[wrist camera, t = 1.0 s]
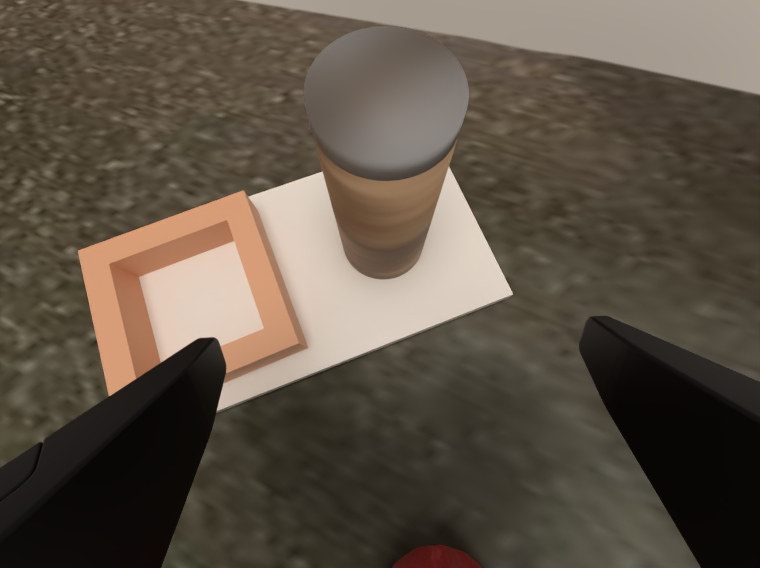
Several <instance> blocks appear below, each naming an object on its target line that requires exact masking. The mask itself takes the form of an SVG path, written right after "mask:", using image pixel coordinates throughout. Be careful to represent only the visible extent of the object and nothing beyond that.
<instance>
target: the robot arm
mask: <svg viewBox="0 0 760 568" xmlns="http://www.w3.org/2000/svg"><path fill="white" fill-rule="evenodd" d="M579 350H580V353H581V355H582V358H583V360H584V362H585V364H586V366H587V368H588V371H589V373H590V375H591V377H592V379H593V381H594V384H595V386H596V388H597V390H598V392H599V394H600V397H601V399H602V401H603V403H604V405H605V407H606V409H607V410H608V412H609V414H610V416H611V417H612V419H613V421H614V422H615V424H616V426H617V427H618V429H619V431H620V433H621V434H622V436H623V438H624V439H625V441H626V443H627V444H628V446H629V448H630V449H631V451H632V453H633V454H634V456H635V458H636V459H637V461H638V463H639V464H640V466H641V468H642V469H643V471H644V473H645V474H646V476H647V478H648V480H649V481H650V483H651V485H652V486H653V488H654V490H655V491H656V493H657V495H658V496H659V498H660V500H661V501H662V503H663V505H664V506H665V508H666V510H667V511H668V513H669V515H670V516H671V518H672V520H673V521H674V523H675V525H676V526H677V528H678V530H679V532H680V533H681V535H682V537H683V538H684V540H685V542H686V543H687V545H688V547H689V548H690V550H691V552H692V553H693V555H694V557H695V558H696V560H697V562H698V563H699V565H700V567H701V568H760V382H759V381H756V380H754V379H752V378H749V377H747V376H745V375H743V374H740V373H738V372H736V371H733V370H731V369H729V368H726V367H724V366H722V365H719V364H717V363H715V362H712V361H710V360H708V359H706V358H703V357H701V356H699V355H696V354H694V353H692V352H689V351H687V350H685V349H682V348H680V347H678V346H675V345H673V344H671V343H669V342H666V341H664V340H662V339H659V338H657V337H655V336H652V335H650V334H648V333H645V332H643V331H641V330H638V329H636V328H634V327H632V326H629V325H627V324H625V323H622V322H620V321H618V320H615V319H613V318H611V317H608V316H593V317H589V318H588V319H587V320H586V322H585V326H584V329H583V332H582V336H581V339H580V343H579ZM225 375H226V361H225V358H224V355H223V352H222V349H221V346H220V343H219V341H218V339H217V338H215V337H207V338H198V339H196V340H195V341H193V342H191V343H190V344H188V345H187V346H185V347H184V348H182V349H181V350H179V351H178V352H176V353H175V354H173V355H172V356H170V357H169V358H167V359H166V360H164V361H163V362H161V363H159V364H158V365H156V366H155V367H153V368H152V369H150V370H149V371H147V372H146V373H144V374H143V375H141V376H140V377H138V378H137V379H135V380H134V381H132V382H131V383H129V384H127V385H126V386H124V387H123V388H121V389H120V390H118V391H117V392H115V393H114V394H112V395H111V396H109V397H108V398H106V399H105V400H103V401H102V402H100V403H98V404H97V405H95V406H94V407H92V408H91V409H89V410H88V411H86V412H85V413H83V414H82V415H80V416H79V417H77V418H76V419H74V420H73V421H71V422H70V423H68V424H66V425H65V426H63V427H62V428H60V429H59V430H57V431H56V432H54V433H53V434H51V435H50V436H48V437H47V438H45V439H44V441H43V442H39V443H37V444H36V445H34V446H33V447H31V448H30V449H28V450H27V451H25V452H24V453H22V454H21V455H19V456H18V457H16V458H15V459H13V460H11V461H10V462H8V463H7V464H5V465H4V466H2V467H0V568H161V566H162V564H163V561H164V558H165V556H166V553H167V550H168V547H169V545H170V542H171V539H172V537H173V534H174V531H175V529H176V526H177V523H178V520H179V518H180V515H181V512H182V510H183V507H184V504H185V502H186V499H187V496H188V493H189V491H190V488H191V485H192V483H193V480H194V477H195V475H196V472H197V469H198V466H199V464H200V461H201V458H202V456H203V453H204V450H205V448H206V445H207V442H208V439H209V436H210V434H211V431H212V427H213V423H214V420H215V416H216V412H217V408H218V404H219V400H220V395H221V391H222V387H223V383H224V379H225Z"/></svg>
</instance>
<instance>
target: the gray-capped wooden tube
mask: <svg viewBox="0 0 760 568" xmlns="http://www.w3.org/2000/svg"><path fill="white" fill-rule="evenodd" d="M468 100H469V88H468V83H467V79H466V76H465V73H464V70H463V69H462V67H461V65H460V63H459V62H458V60H457V59H456V57H455V56H454V55H453V54H452V53H451V52H450V51H449V50H448V49H447V48H446V47H445V46H444V45H442V44H441V43H440V42H438V41H437V40H435V39H433V38H432V37H430V36H428V35H425V34H423V33H421V32H418V31H415V30H411V29H407V28H402V27H395V26H379V27H370V28H364V29H361V30H357V31H354V32H351V33H349V34H346V35H344V36H342V37H340V38H339V39H337V40H335V41H334V42H332V43H331V44H329V45H328V46H327V47H326V48H325V49H324V50H323V51H322V52H321V53H320V54H319V55H318V56H317V57H316V59H315V60H314V62H313V63H312V65H311V67H310V69H309V71H308V73H307V76H306V80H305V84H304V103H305V108H306V112H307V116H308V120H309V123H310V127H311V131H312V134H313V138H314V142H315V145H316V149H317V153H318V157H319V160H320V164H321V168H322V171H323V175H324V179H325V182H326V186H327V190H328V193H329V197H330V201H331V205H332V208H333V212H334V216H335V219H336V223H337V227H338V230H339V234H340V238H341V242H342V245H343V249H344V252H345V255H346V257H347V259H348V261H349V262H350V264H351V265H352V266H353V267H354V268H355V269H356V270H357V271H358V272H360V273H361V274H363V275H365V276H367V277H370V278H374V279H392V278H396V277H399V276H401V275H403V274H405V273H406V272H408V271H409V270H410V269H411V268H413V266H414V265H415V264H416V263H417V261H418V260H419V258H420V256H421V253H422V250H423V247H424V243H425V240H426V237H427V234H428V231H429V227H430V224H431V221H432V218H433V215H434V212H435V208H436V205H437V202H438V199H439V196H440V193H441V189H442V186H443V183H444V180H445V177H446V174H447V170H448V167H449V164H450V161H451V158H452V155H453V151H454V148H455V145H456V142H457V139H458V135H459V132H460V129H461V126H462V123H463V120H464V116H465V113H466V110H467V107H468Z"/></svg>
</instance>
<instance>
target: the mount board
mask: <svg viewBox="0 0 760 568" xmlns="http://www.w3.org/2000/svg"><path fill="white" fill-rule="evenodd" d="M249 199H250V200H251V201H252V203H253V204H254V206H255V207H256V209H257V210H258V212H259V215H260V218H261V220H262V223H263V226H264V228H265V231H266V234H267V237H268V239H269V242H270V245H271V248H272V250H273V253H274V256H275V258H276V261H277V264H278V267H279V269H280V272H281V275H282V278H283V280H284V283H285V286H286V288H287V291H288V294H289V297H290V299H291V302H292V305H293V307H294V310H295V313H296V316H297V318H298V321H299V324H300V327H301V329H302V332H303V335H304V337H305V340H306V343H307V346H308V348H307V349H304V350H302V351H300V352H297V353H295V354H292V355H290V356H288V357H285V358H283V359H281V360H278V361H276V362H273V363H271V364H269V365H266V366H264V367H261V368H259V369H257V370H254V371H252V372H249V373H247V374H245V375H242V376H240V377H238V378H235V379H233V380H230V381H228V382H226V383H223V387H222V391H221V395H220V400H219V404H218V408H217V412H216V413H218V412H221V411H223V410H226V409H228V408H231V407H233V406H236V405H239V404H241V403H244V402H246V401H249V400H251V399H254V398H256V397H259V396H261V395H264V394H266V393H269V392H271V391H274V390H277V389H279V388H282V387H284V386H287V385H289V384H292V383H294V382H297V381H299V380H302V379H304V378H307V377H310V376H312V375H315V374H317V373H320V372H322V371H325V370H327V369H330V368H332V367H335V366H337V365H340V364H342V363H345V362H348V361H350V360H353V359H355V358H358V357H360V356H363V355H365V354H368V353H370V352H373V351H375V350H378V349H380V348H383V347H386V346H388V345H391V344H393V343H396V342H398V341H401V340H403V339H406V338H408V337H411V336H413V335H416V334H418V333H421V332H424V331H426V330H429V329H431V328H434V327H436V326H439V325H441V324H444V323H446V322H449V321H451V320H454V319H456V318H459V317H462V316H464V315H467V314H469V313H472V312H474V311H477V310H479V309H482V308H484V307H487V306H489V305H492V304H494V303H497V302H500V301H502V300H505V299H507V298H508V297H510V296H511V295H513V293H512V291H511V289H510V287H509V285H508V283H507V281H506V279H505V277H504V275H503V273H502V271H501V269H500V267H499V265H498V263H497V261H496V259H495V257H494V255H493V253H492V251H491V249H490V247H489V245H488V243H487V241H486V239H485V237H484V235H483V233H482V231H481V229H480V227H479V225H478V223H477V221H476V219H475V217H474V215H473V213H472V211H471V209H470V207H469V205H468V203H467V202H466V200H465V198H464V196H463V194H462V192H461V190H460V188H459V186H458V184H457V182H456V180H455V178H454V176H453V174H452V172H451V170H450V168H449V167H448V170H447V174H446V177H445V180H444V183H443V186H442V189H441V193H440V196H439V199H438V202H437V205H436V208H435V212H434V215H433V218H432V221H431V224H430V227H429V231H428V234H427V237H426V240H425V243H424V247H423V250H422V253H421V256H420V258H419V260H418V261H417V263H416V264H415V265H414V266H413V268H411V269H410V270H409V271H408V272H406V273H405V274H403V275H401V276H399V277H396V278H392V279H374V278H370V277H367V276H365V275H363V274H361V273H360V272H358V271H357V270H356V269H355V268H354V267H353V266H352V265H351V264H350V262H349V261H348V259H347V257H346V255H345V252H344V249H343V245H342V242H341V238H340V234H339V230H338V227H337V223H336V219H335V216H334V212H333V208H332V205H331V201H330V197H329V193H328V190H327V186H326V182H325V179H324V175H323V172H320V173H317V174H314V175H311V176H308V177H305V178H302V179H299V180H296V181H294V182H291V183H288V184H285V185H282V186H279V187H276V188H273V189H270V190H267V191H264V192H261V193H258V194H255V195H252V196H249ZM139 280H140V284H141V288H142V292H143V296H144V299H145V303H146V307H147V311H148V315H149V319H150V323H151V327H152V331H153V334H154V338H155V342H156V346H157V350H158V354H159V358H160V362H163V361H164V360H166V359H167V358H169V357H170V356H172V355H173V354H175V353H176V352H178V351H179V350H181V349H182V348H184V347H185V346H187V345H188V344H190V343H191V342H193V341H195V340H196V339H198V338H207V337H215V338H217V339H218V341H219V343H220V346H222V345H225V344H227V343H230V342H232V341H235V340H237V339H239V338H242V337H244V336H247V335H249V334H252V333H254V332H257V331H259V330H262V329H264V327H263V324H262V321H261V318H260V315H259V312H258V309H257V307H256V304H255V301H254V298H253V295H252V292H251V289H250V286H249V283H248V280H247V277H246V274H245V271H244V268H243V265H242V262H241V259H240V256H239V254H238V251H237V248H236V245H235V242H234V241H233V242H230V243H227V244H225V245H222V246H219V247H217V248H214V249H211V250H209V251H206V252H203V253H201V254H198V255H195V256H193V257H190V258H188V259H185V260H182V261H180V262H177V263H174V264H172V265H169V266H166V267H164V268H161V269H158V270H156V271H153V272H151V273H148V274H145V275H143V276H140V277H139Z"/></svg>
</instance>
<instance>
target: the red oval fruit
mask: <svg viewBox="0 0 760 568" xmlns="http://www.w3.org/2000/svg"><path fill="white" fill-rule="evenodd" d="M392 568H483V567H481V566H480V565H479V564H478V563H477V562H476V561H475V560H473V559H472V558H471V557H470V556H469V555H468V554H466V553H465V552H463V551H460V550H457V549H454V548H451V547H448V546H445V545H442V544H439V545H431V546H423V547H416V548H414V549H413V550H412V551H410V552H409V553H408V554H406V555H405V556H404V557H402V558H401V559H399V560H398V561H397V562H395V563H394V565H393V567H392Z"/></svg>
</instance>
